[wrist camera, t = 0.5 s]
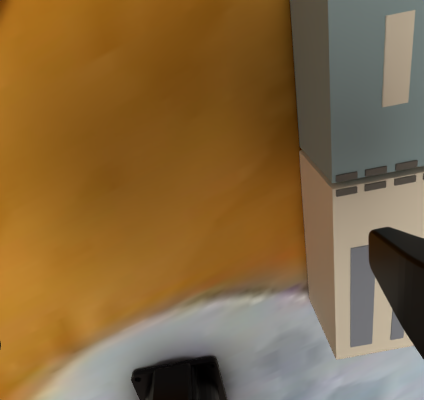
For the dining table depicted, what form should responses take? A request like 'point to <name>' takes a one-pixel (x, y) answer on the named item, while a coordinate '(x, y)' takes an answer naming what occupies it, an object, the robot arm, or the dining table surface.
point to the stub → (359, 85)
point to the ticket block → (355, 253)
